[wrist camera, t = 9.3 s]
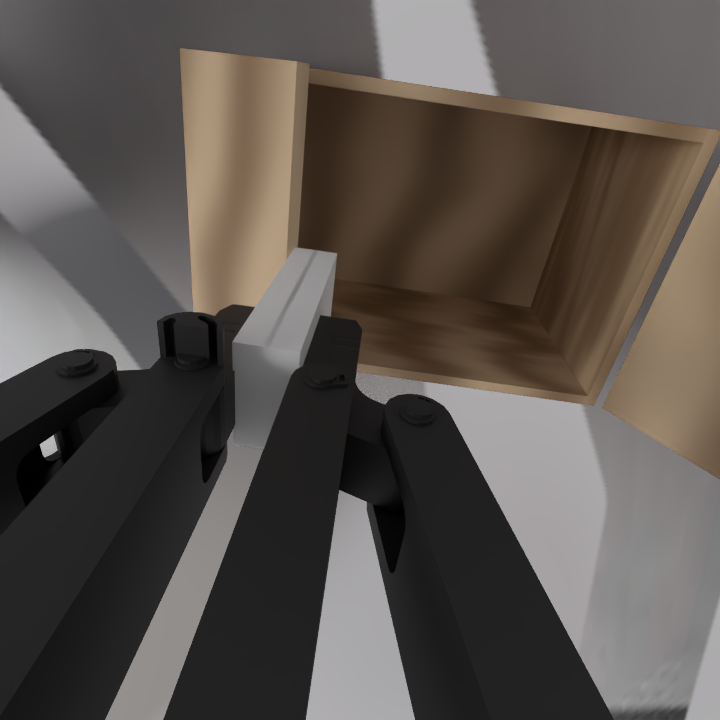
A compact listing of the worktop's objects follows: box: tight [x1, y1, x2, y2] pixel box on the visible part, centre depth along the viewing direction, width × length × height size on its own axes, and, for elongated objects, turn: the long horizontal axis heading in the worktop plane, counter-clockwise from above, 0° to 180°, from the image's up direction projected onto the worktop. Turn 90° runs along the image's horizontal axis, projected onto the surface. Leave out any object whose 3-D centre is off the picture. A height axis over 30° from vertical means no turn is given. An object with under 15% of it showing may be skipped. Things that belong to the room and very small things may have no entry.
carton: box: [298, 68, 720, 406], centre depth 26 cm, size 20×13×12 cm, turn 83°
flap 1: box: [180, 48, 310, 316], centre depth 18 cm, size 8×13×1 cm
